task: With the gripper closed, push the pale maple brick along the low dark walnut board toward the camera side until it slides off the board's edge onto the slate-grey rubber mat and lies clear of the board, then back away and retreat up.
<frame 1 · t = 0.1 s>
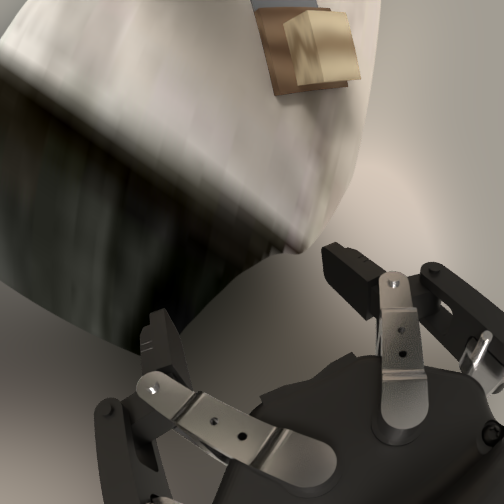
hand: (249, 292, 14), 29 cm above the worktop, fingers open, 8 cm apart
brown flat slab: (300, 49, 35), on the worktop
block: (308, 52, 34), point 2 cm above the worktop, touching brown flat slab
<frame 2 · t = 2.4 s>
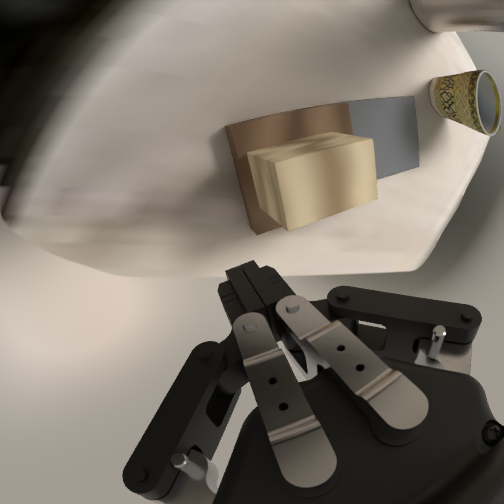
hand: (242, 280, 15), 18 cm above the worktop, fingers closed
brown flat slab: (296, 162, 32), on the worktop
block: (296, 167, 30), point 2 cm above the worktop, touching brown flat slab
ceramic cup: (443, 101, 35), on the worktop
mat: (384, 137, 34), on the worktop
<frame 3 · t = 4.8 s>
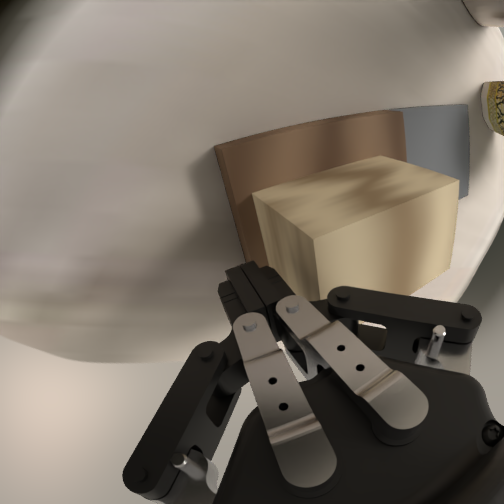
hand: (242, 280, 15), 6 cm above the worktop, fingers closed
brown flat slab: (325, 200, 21), on the worktop
block: (329, 212, 19), point 2 cm above the worktop, touching brown flat slab, gripper
ceramic cup: (492, 111, 24), on the worktop
mat: (436, 159, 23), on the worktop
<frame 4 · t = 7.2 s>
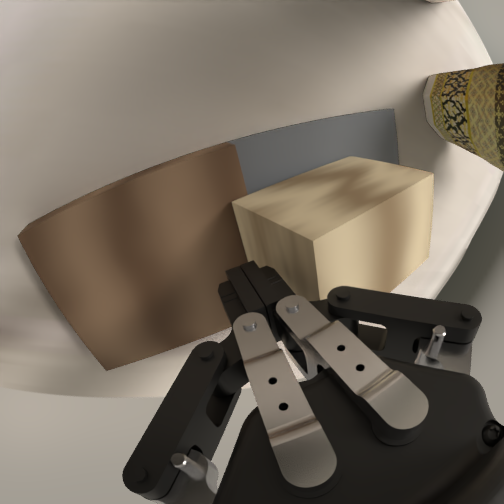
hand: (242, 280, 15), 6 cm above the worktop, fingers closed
brown flat slab: (152, 263, 19), on the worktop
block: (306, 216, 20), point 1 cm above the worktop, tilted 11°, touching brown flat slab
ceramic cup: (446, 113, 22), on the worktop
mat: (333, 190, 21), on the worktop
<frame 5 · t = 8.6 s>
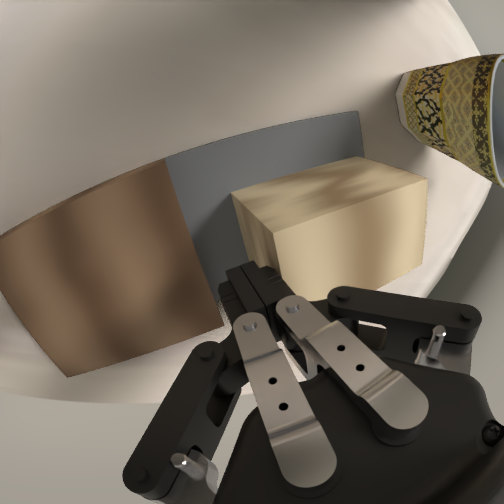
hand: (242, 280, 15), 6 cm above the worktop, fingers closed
brown flat slab: (101, 278, 18), on the worktop
block: (306, 210, 21), resting on mat, touching gripper
ceramic cup: (425, 113, 21), on the worktop
mat: (286, 203, 20), on the worktop
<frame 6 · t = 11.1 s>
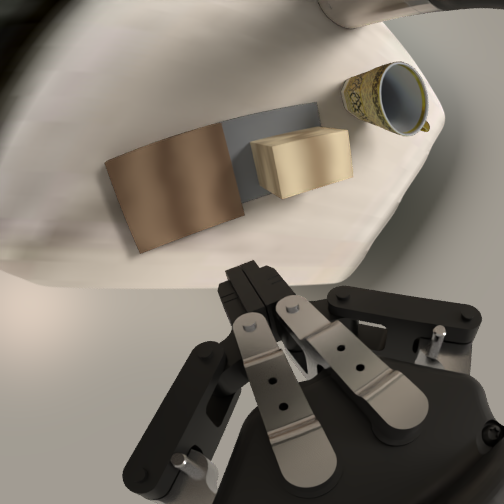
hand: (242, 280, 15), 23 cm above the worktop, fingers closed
brown flat slab: (175, 185, 34), on the worktop
block: (289, 154, 37), resting on mat
ceramic cup: (363, 102, 38), on the worktop
mat: (278, 150, 37), on the worktop
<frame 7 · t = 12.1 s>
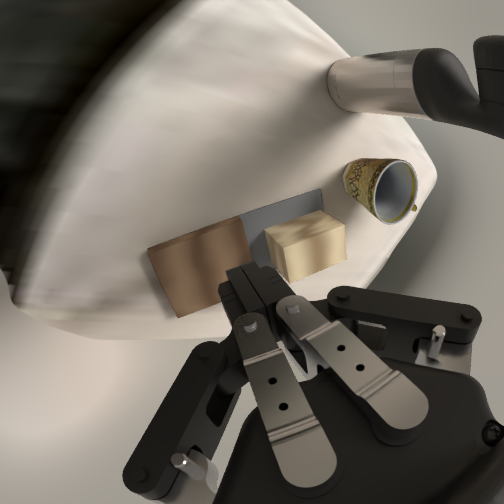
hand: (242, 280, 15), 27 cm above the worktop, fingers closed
brown flat slab: (204, 266, 44), on the worktop
block: (295, 235, 47), resting on mat
ceramic cup: (361, 180, 47), on the worktop
mat: (286, 232, 46), on the worktop
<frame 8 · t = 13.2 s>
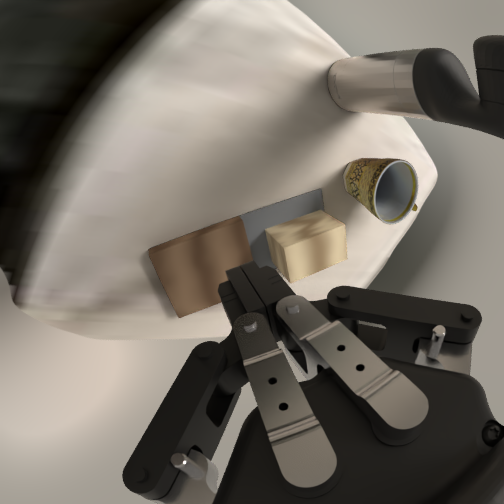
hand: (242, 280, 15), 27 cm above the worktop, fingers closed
brown flat slab: (205, 266, 44), on the worktop
block: (296, 235, 47), resting on mat
ceramic cup: (362, 180, 47), on the worktop
mat: (287, 232, 46), on the worktop
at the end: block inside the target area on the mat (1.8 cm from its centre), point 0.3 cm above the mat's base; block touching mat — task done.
